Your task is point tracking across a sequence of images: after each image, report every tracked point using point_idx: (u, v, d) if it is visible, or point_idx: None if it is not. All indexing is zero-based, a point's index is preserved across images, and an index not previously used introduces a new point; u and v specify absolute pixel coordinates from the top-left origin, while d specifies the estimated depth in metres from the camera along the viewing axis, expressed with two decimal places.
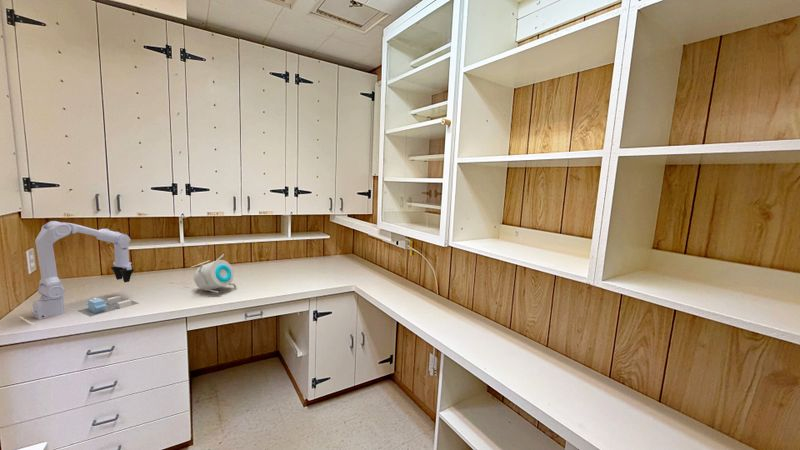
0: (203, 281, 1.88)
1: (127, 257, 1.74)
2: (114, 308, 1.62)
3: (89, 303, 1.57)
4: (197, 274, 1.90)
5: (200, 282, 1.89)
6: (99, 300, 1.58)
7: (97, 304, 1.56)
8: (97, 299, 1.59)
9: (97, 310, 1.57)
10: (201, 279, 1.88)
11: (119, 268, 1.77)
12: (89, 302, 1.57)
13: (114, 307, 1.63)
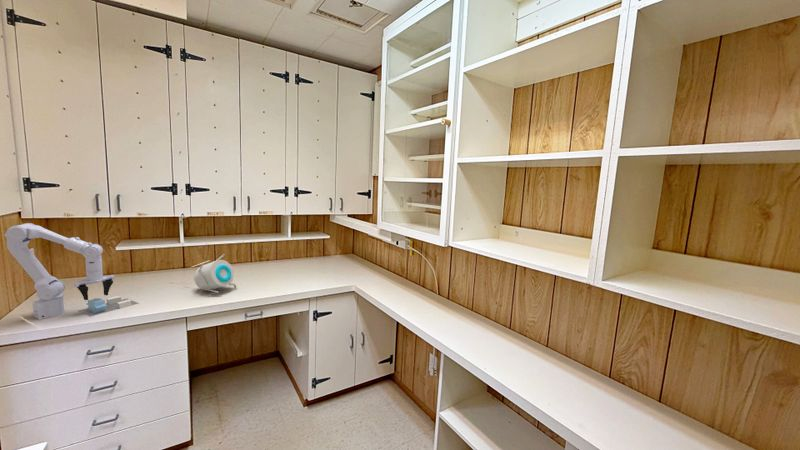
0: (203, 281, 1.88)
1: (89, 273, 1.54)
2: (114, 308, 1.62)
3: (89, 303, 1.57)
4: (197, 274, 1.90)
5: (200, 282, 1.89)
6: (99, 300, 1.58)
7: (97, 304, 1.56)
8: (97, 299, 1.59)
9: (97, 310, 1.57)
10: (201, 279, 1.88)
11: (105, 283, 1.61)
12: (89, 302, 1.57)
13: (114, 307, 1.63)
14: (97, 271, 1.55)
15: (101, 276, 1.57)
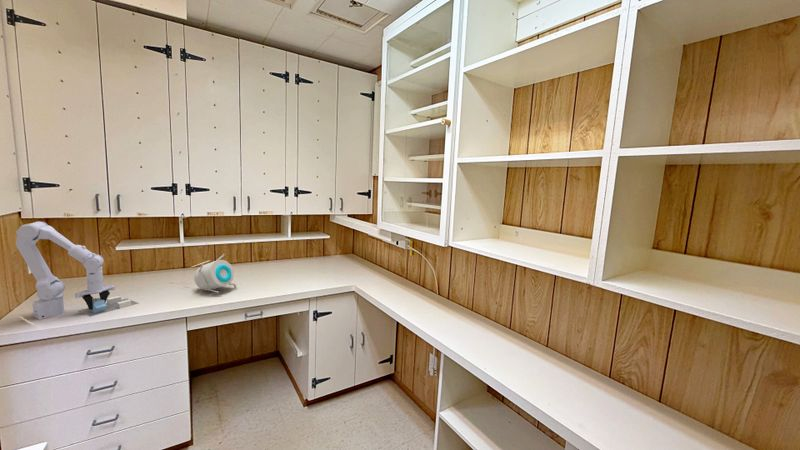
0: (203, 281, 1.88)
1: (90, 284, 1.54)
2: (114, 308, 1.62)
3: None
4: (197, 274, 1.90)
5: (200, 282, 1.89)
6: (99, 300, 1.58)
7: (97, 304, 1.56)
8: (97, 299, 1.59)
9: (97, 310, 1.57)
10: (201, 279, 1.88)
11: (101, 294, 1.60)
12: None
13: (114, 307, 1.63)
14: (98, 282, 1.56)
15: (102, 287, 1.58)
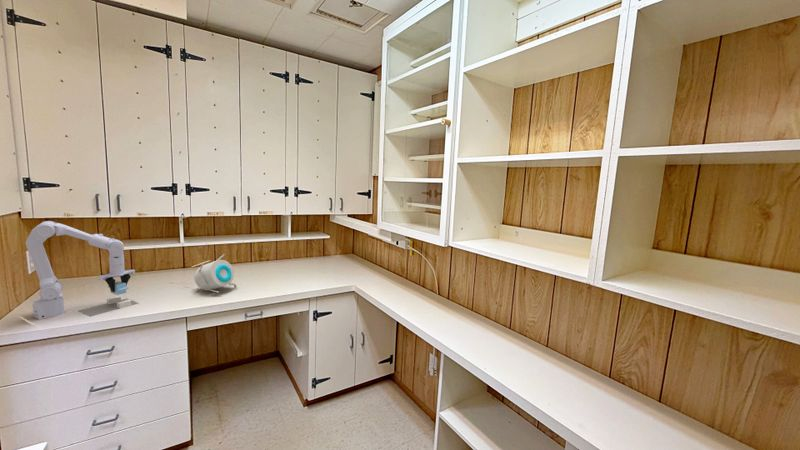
0: (203, 281, 1.88)
1: (112, 267, 1.62)
2: (114, 308, 1.62)
3: None
4: (197, 274, 1.91)
5: (200, 282, 1.89)
6: (121, 283, 1.66)
7: (119, 287, 1.64)
8: (119, 282, 1.67)
9: (119, 292, 1.64)
10: (201, 279, 1.88)
11: (123, 278, 1.67)
12: None
13: (114, 307, 1.63)
14: (120, 265, 1.63)
15: (123, 270, 1.65)
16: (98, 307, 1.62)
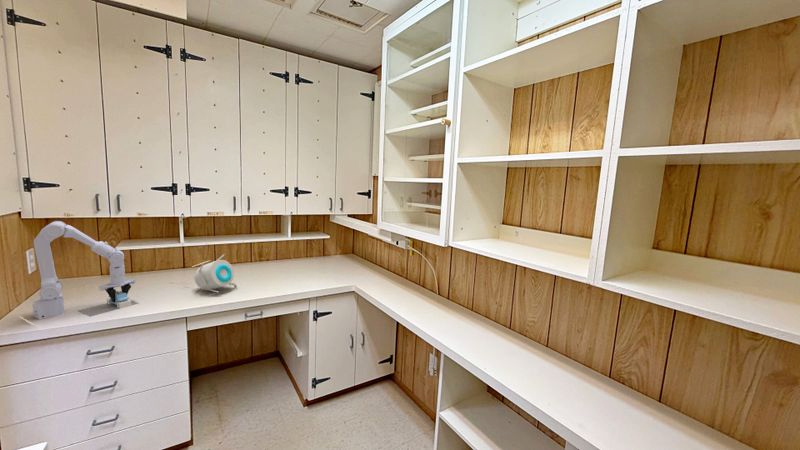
0: (203, 281, 1.88)
1: (113, 277, 1.62)
2: (114, 308, 1.62)
3: None
4: (197, 274, 1.91)
5: (200, 282, 1.89)
6: (121, 293, 1.66)
7: (120, 297, 1.64)
8: (119, 292, 1.67)
9: None
10: (201, 279, 1.88)
11: (123, 288, 1.68)
12: None
13: (114, 307, 1.63)
14: (120, 276, 1.64)
15: (124, 280, 1.66)
16: (98, 307, 1.62)
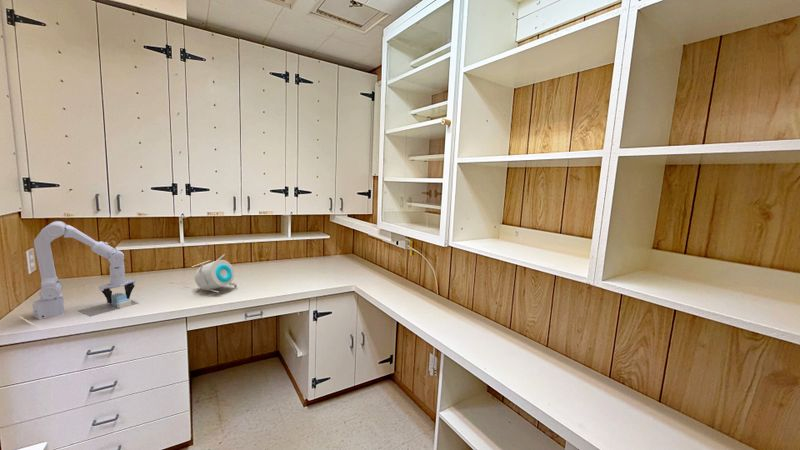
0: (203, 281, 1.88)
1: (113, 277, 1.62)
2: (114, 308, 1.62)
3: (112, 297, 1.65)
4: (198, 274, 1.91)
5: (201, 282, 1.89)
6: (121, 295, 1.66)
7: (119, 298, 1.64)
8: (119, 294, 1.67)
9: None
10: (202, 279, 1.88)
11: (127, 287, 1.69)
12: (112, 296, 1.65)
13: (114, 307, 1.63)
14: (120, 276, 1.64)
15: (124, 280, 1.66)
16: (98, 307, 1.62)
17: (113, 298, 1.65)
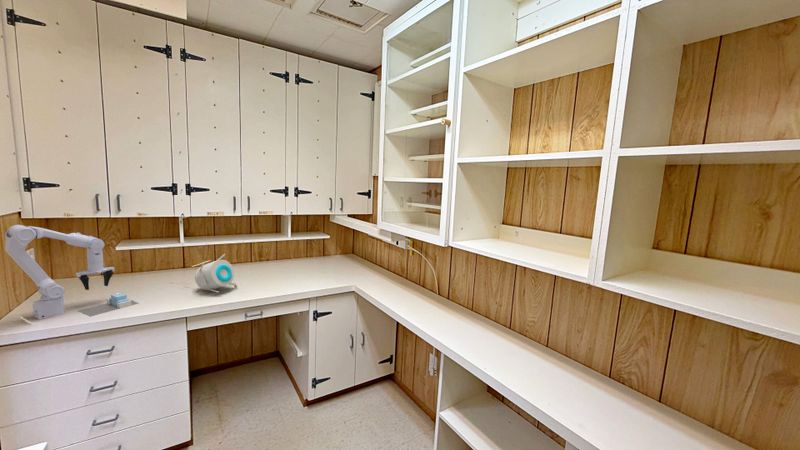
0: (204, 281, 1.88)
1: (90, 264, 1.61)
2: (114, 308, 1.62)
3: (112, 297, 1.65)
4: (198, 274, 1.91)
5: (201, 282, 1.89)
6: (121, 295, 1.66)
7: (119, 298, 1.64)
8: (119, 294, 1.67)
9: None
10: (202, 279, 1.88)
11: (105, 274, 1.68)
12: (112, 296, 1.65)
13: (114, 307, 1.63)
14: (98, 262, 1.63)
15: (101, 267, 1.65)
16: (98, 307, 1.62)
17: (113, 298, 1.65)
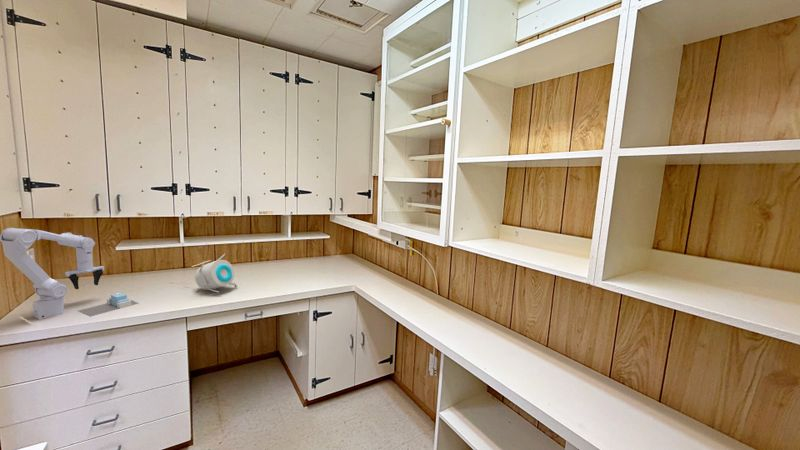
0: (204, 281, 1.88)
1: (80, 263, 1.61)
2: (114, 308, 1.62)
3: (112, 297, 1.65)
4: (198, 274, 1.91)
5: (201, 282, 1.89)
6: (121, 295, 1.66)
7: (119, 298, 1.64)
8: (119, 294, 1.67)
9: None
10: (202, 279, 1.88)
11: (95, 273, 1.68)
12: (112, 296, 1.65)
13: (114, 307, 1.63)
14: (87, 262, 1.62)
15: (91, 266, 1.65)
16: (98, 307, 1.62)
17: (113, 298, 1.65)
